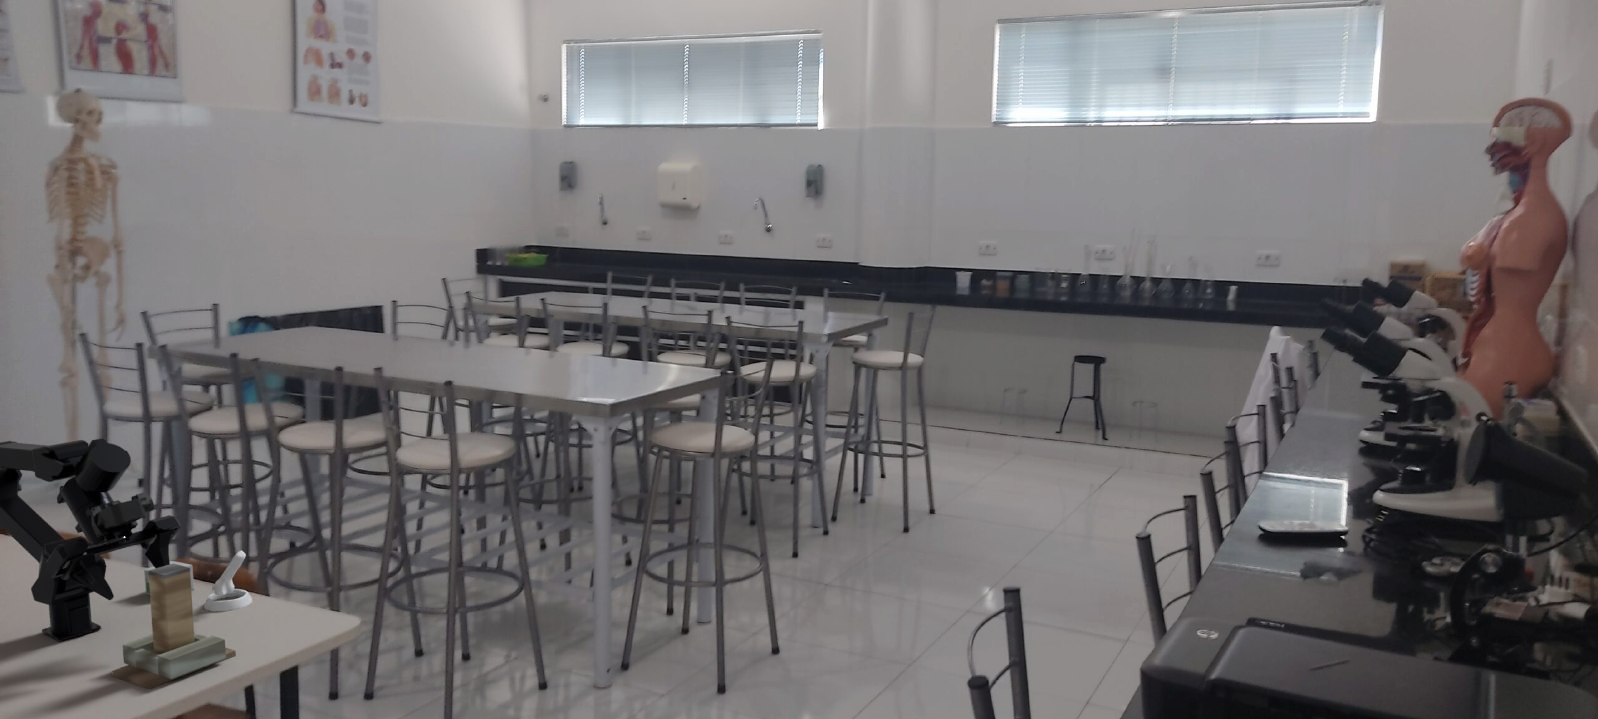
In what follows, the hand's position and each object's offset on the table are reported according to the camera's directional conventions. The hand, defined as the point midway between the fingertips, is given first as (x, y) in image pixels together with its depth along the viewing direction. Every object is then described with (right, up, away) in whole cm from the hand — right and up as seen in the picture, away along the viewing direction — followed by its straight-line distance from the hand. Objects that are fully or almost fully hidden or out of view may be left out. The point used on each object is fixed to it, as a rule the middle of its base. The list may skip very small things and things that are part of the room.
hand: (141, 589), depth 176 cm
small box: (-12, -7, +29) cm, 32 cm away
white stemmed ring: (+2, -8, +24) cm, 25 cm away
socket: (+7, -11, -2) cm, 13 cm away
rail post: (+7, -11, -2) cm, 13 cm away
